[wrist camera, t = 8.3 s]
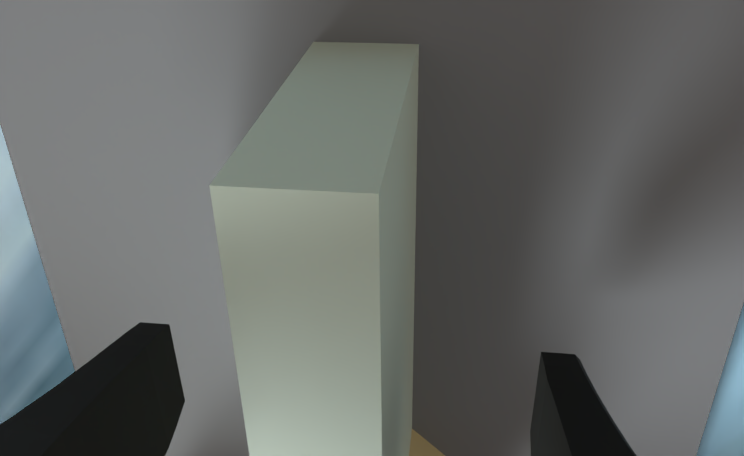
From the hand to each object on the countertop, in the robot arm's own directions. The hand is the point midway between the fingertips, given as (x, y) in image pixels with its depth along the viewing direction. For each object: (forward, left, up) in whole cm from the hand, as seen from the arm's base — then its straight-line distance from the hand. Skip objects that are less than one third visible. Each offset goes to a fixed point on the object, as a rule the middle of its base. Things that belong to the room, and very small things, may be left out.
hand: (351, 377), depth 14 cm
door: (-1, 0, -3) cm, 3 cm away
